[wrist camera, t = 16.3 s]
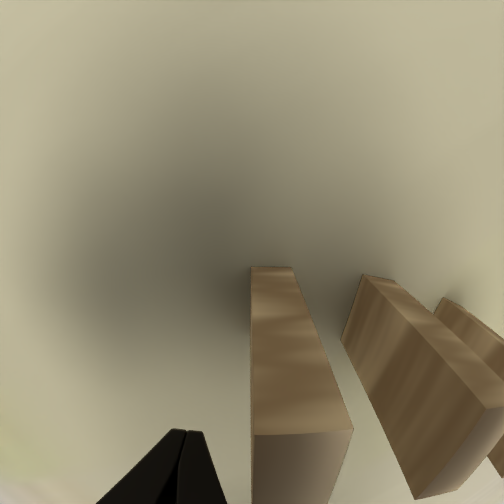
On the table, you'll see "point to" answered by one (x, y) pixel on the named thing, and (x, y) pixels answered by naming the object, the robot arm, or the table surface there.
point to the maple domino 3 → (477, 352)
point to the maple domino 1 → (291, 398)
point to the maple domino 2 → (423, 387)
